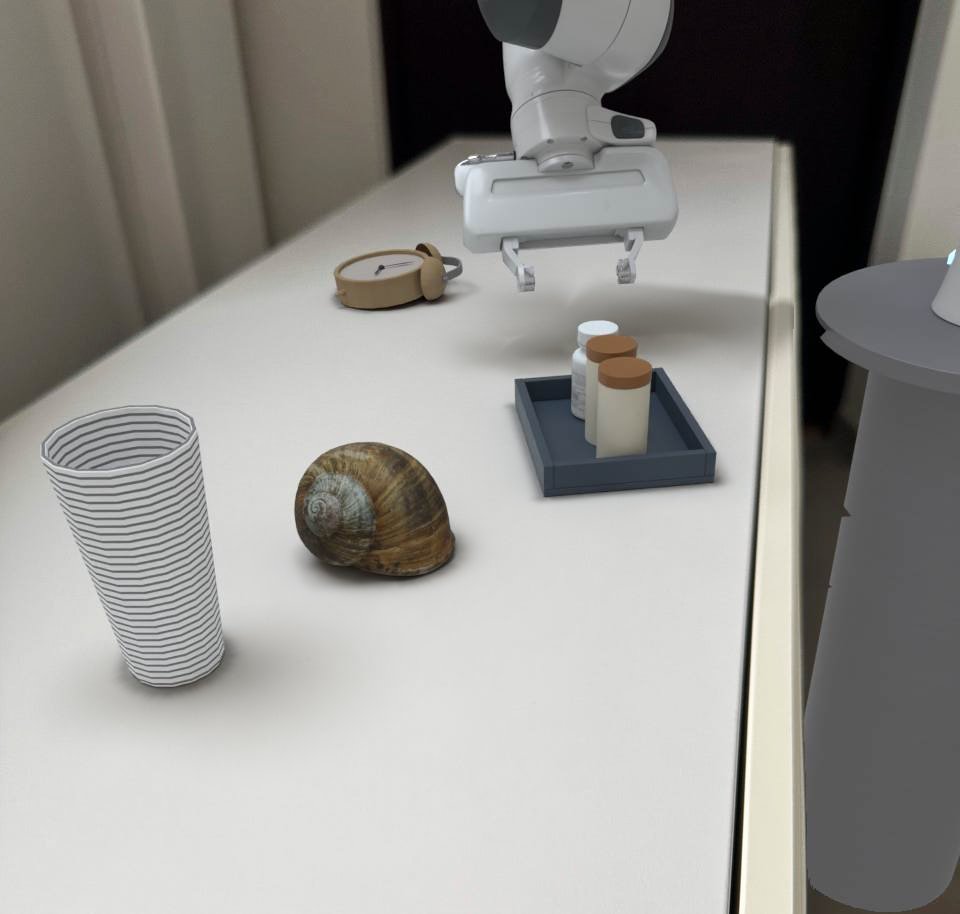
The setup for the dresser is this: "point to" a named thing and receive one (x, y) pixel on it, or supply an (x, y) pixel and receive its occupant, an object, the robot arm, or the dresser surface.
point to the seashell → (373, 511)
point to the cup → (143, 534)
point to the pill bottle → (579, 362)
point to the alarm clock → (394, 276)
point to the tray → (572, 460)
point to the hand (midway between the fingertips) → (577, 285)
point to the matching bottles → (616, 396)
